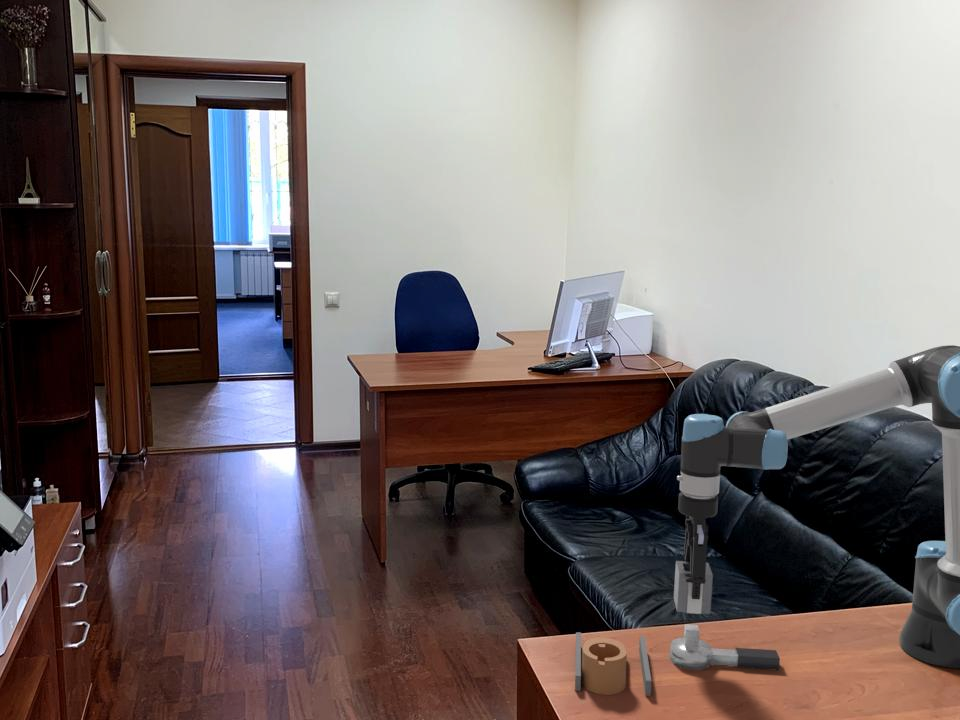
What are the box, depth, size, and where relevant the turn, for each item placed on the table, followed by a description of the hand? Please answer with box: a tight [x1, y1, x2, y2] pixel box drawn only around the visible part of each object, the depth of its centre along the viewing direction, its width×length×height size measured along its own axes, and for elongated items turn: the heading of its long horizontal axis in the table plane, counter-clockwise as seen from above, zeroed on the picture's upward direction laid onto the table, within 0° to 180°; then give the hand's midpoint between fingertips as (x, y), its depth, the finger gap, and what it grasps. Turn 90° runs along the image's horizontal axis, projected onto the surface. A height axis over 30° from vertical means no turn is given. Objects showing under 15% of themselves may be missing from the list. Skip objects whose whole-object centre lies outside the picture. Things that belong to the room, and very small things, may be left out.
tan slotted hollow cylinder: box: [581, 637, 628, 696], centre depth 172 cm, size 18×8×7 cm, turn 171°
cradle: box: [574, 631, 652, 697], centre depth 172 cm, size 14×18×3 cm
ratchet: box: [669, 623, 781, 671], centre depth 176 cm, size 21×8×7 cm, turn 83°
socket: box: [673, 560, 714, 615], centre depth 175 cm, size 6×6×8 cm
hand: (691, 604), depth 175 cm, fingers closed on socket, 6 cm apart
